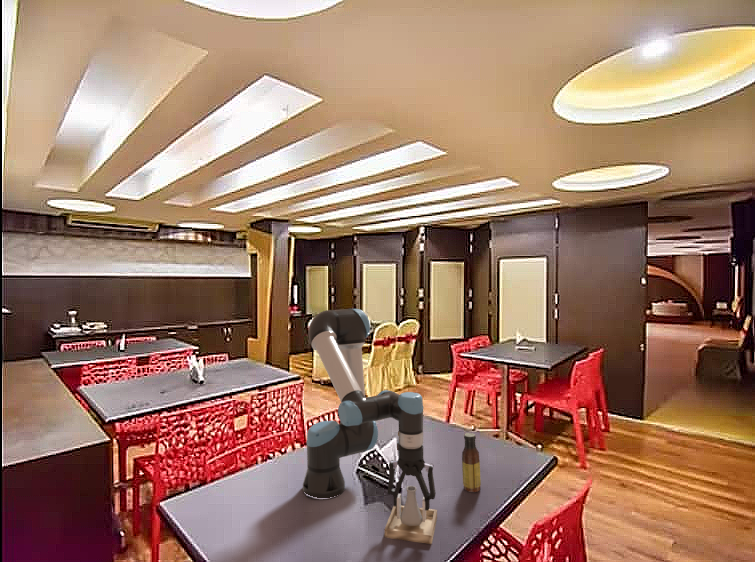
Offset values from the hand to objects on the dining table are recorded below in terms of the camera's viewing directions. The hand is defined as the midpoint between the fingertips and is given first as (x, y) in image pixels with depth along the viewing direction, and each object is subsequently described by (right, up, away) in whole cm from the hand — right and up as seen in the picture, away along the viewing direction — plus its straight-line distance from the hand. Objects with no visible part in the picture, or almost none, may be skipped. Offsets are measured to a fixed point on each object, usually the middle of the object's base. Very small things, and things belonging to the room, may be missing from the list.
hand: (411, 517), depth 135 cm
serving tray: (0, -3, 0) cm, 3 cm away
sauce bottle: (+23, -2, +23) cm, 33 cm away
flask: (0, -1, 0) cm, 1 cm away
